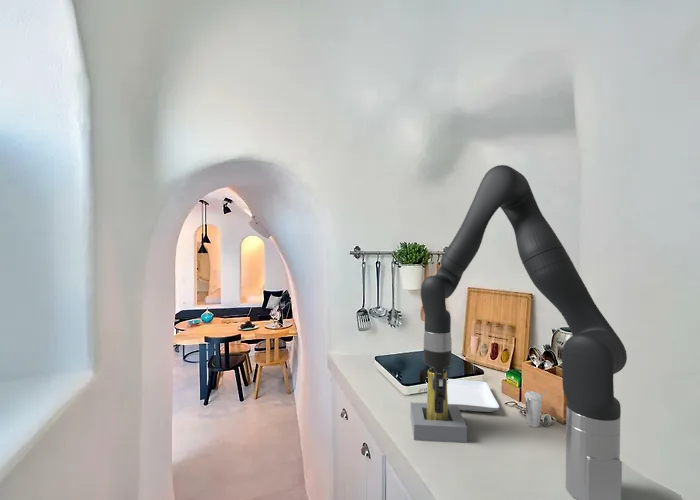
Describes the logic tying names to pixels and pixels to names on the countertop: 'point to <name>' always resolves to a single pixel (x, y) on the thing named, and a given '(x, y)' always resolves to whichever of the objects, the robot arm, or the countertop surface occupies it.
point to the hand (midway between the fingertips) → (437, 407)
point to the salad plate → (471, 395)
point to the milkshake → (533, 408)
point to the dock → (438, 425)
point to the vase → (431, 401)
